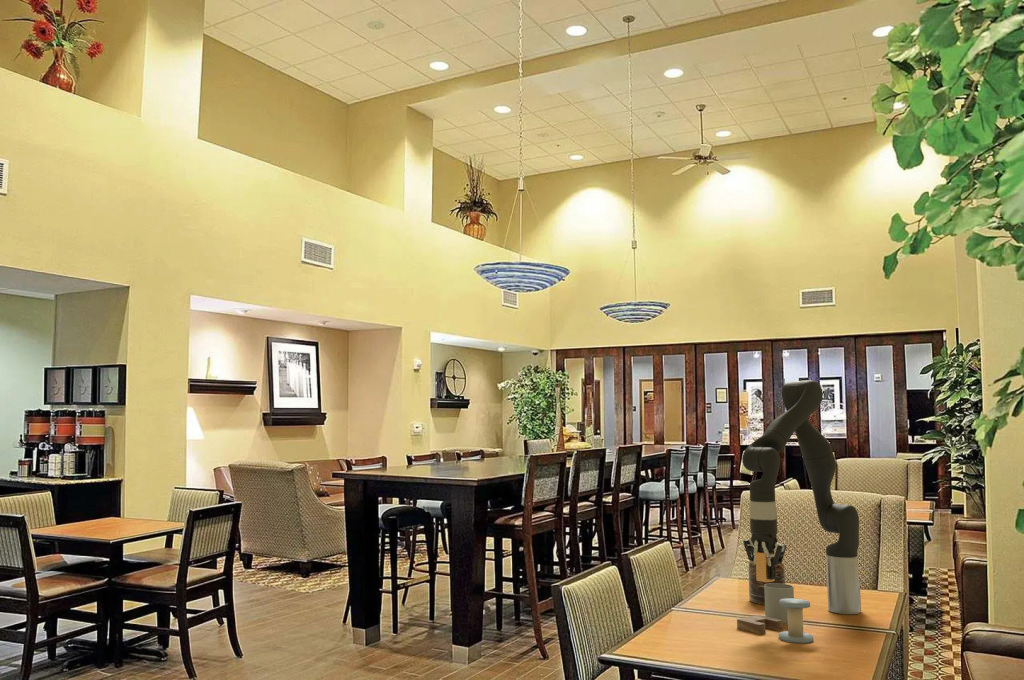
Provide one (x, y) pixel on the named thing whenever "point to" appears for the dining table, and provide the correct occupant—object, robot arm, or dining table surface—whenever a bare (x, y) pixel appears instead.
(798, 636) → the bobbin
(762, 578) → the block
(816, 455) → the robot arm
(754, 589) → the jar
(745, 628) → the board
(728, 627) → the dining table surface
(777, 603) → the cup
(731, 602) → the dining table surface
